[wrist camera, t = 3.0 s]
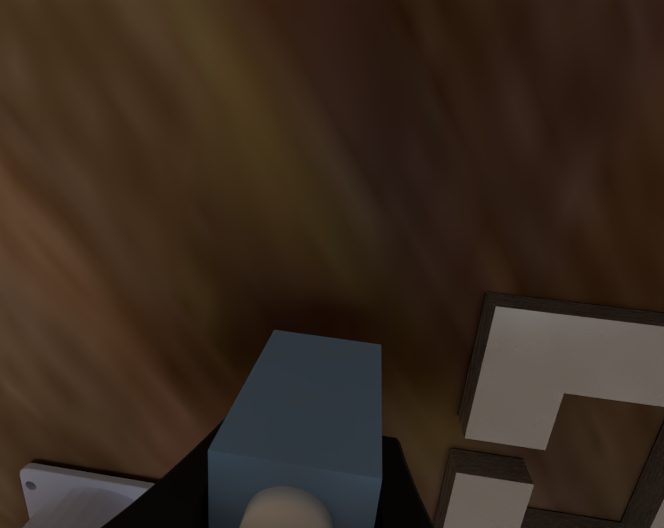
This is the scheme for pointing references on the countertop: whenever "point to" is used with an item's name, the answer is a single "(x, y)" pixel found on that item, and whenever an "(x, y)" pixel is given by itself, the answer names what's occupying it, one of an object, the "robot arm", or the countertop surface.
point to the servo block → (301, 438)
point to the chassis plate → (548, 404)
